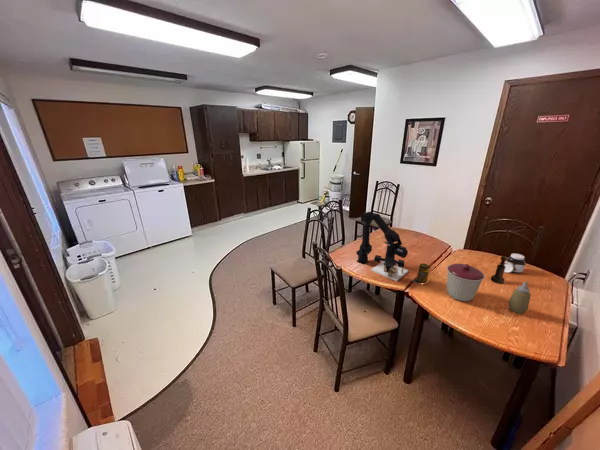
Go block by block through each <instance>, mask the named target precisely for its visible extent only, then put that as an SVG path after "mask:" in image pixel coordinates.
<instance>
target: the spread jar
mask: <svg viewBox="0 0 600 450" xmlns="http://www.w3.org/2000/svg"><path fill="white" fill-rule="evenodd" d="M525 258H526V257H525V256H524V255H523V254H520V253H511V254H510V256H508V257H507V260H506V261H505V262H504V263H505V264H504V266H505V270H504V273H507V274H508V273H509V274H510V273H513V274H521V273H523V272H524V271H525V267H526V265H527V263H526V260H525Z"/></svg>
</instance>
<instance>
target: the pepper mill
mask: <svg viewBox="0 0 600 450" xmlns="http://www.w3.org/2000/svg"><path fill="white" fill-rule="evenodd" d="M507 258H508V257H507V256H505V255H502V256H501V257H500V262H499V264H497V265H496V266H497V267H496V270H495V273H494V275H491V278H490V281H492V282H493V283H495V284H504V283H505V278H504V277H503V276H504V273H505V272H504V270H505V266H504V264H505V263H506V260H507Z"/></svg>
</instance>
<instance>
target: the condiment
mask: <svg viewBox="0 0 600 450" xmlns="http://www.w3.org/2000/svg"><path fill="white" fill-rule="evenodd" d="M429 269H430V265H428V264H426V263H420V264H419V267H418V269H417V276H416V278H415V279H412V280H411V281H412V282H413V283H414V284H417V285H419V283H426V282H427V281H428V277H429V273H430V270H429Z"/></svg>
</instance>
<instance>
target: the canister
mask: <svg viewBox="0 0 600 450" xmlns="http://www.w3.org/2000/svg"><path fill="white" fill-rule="evenodd" d="M446 270H447V274H446V275H447V276H446V277H447V278H446V292H447V294H448V295H449V296H450V297H451V298H453V299H455V300H456V301H460V302H470V301H472V300H473V299H474V298H475V296H476V294H477V293H478V290H479V288H480V285H481V284H482V282H483V280H484V279H485V277H486V276H485V274H484V273H483V272H482V271H481V270H479V269H478V268H477V267H475V266H472V265H470V264H467V263H464V264H463V263H452V264H449V265H447V266H446Z"/></svg>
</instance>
